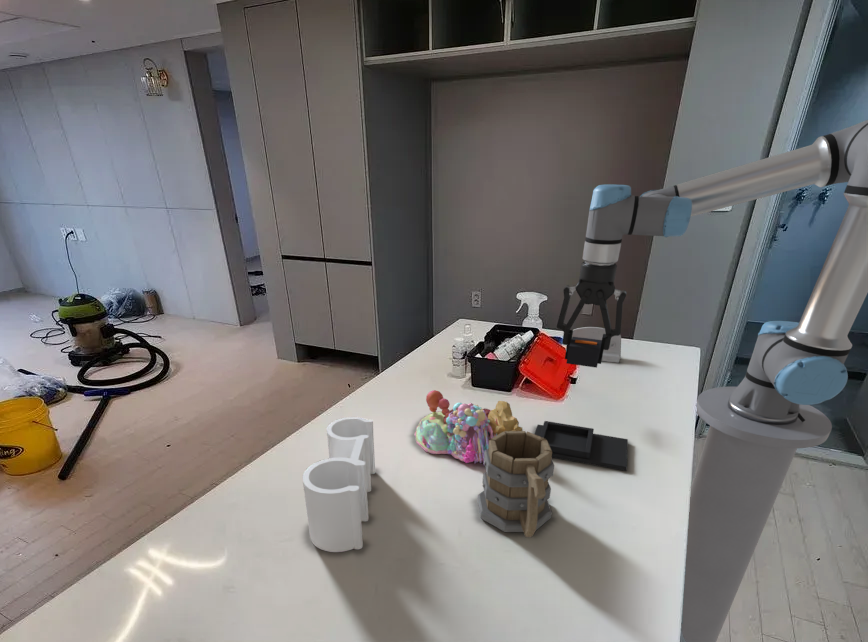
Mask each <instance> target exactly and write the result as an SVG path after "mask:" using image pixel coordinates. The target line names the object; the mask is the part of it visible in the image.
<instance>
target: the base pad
mask: <svg viewBox="0 0 868 642" xmlns="http://www.w3.org/2000/svg"><path fill="white" fill-rule="evenodd" d="M594 430H595V429H594V428H592V427H585V426H579V425H573V424H567V423H561V422H554V421H548V420H544V422H543V424H537V426H536V428H535V431H534V434H535V435H537V436H540V437H542V438H545V439H546V440H547V441H548V443H549V446H550V448H551V450H552V458H553V459H559V460H565V461H569V462H575V463H580V464H586V465H591V466H597V467H602V468H608V469H614V470H619V471H623V472H624V471H625V472H626V471H627V468H628V445H629V444H628V443H629V442H628V441H629V439H628V438H623V437H616V436H611V435H606V434H605V435H604V434H599V433H594Z"/></svg>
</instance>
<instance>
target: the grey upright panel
mask: <svg viewBox="0 0 868 642" xmlns="http://www.w3.org/2000/svg"><path fill="white" fill-rule="evenodd" d="M572 330H573V335H572V337H580V338H588V339H597V340H602V337H603V334H606V332H605V328H604V327H597V326H585V327H578V328H574V329H572ZM621 355H622V335H621V334H620V335H619V336H613V337H612V338H611V341H610V347H609V349H608V350H604V351H603V356H602V361H601V362H608V363H609V362H610V363H616V364H617V363H618V364H619V363H620V359H621V357H622V356H621Z"/></svg>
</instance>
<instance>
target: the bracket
mask: <svg viewBox="0 0 868 642" xmlns="http://www.w3.org/2000/svg"><path fill="white" fill-rule="evenodd" d="M326 436H327V439H326V440H327V448H328V458H324V459H321V460H318V461H316V462H314V463H312V464H311V465H309V466H308V467H307V468H306V469H304V471H303V474H302V485H303V486H302V487H303V493H304V502H305V509H306V517H307V524H308V531H309V540H310V542H311V543H312V544H313V545H314V546H315V547H316V548H317V549H320V550H322V551H325V552H330V553H343V552H348V551H351V550H353V549H354V550H361V549H362V548H363V547H364V543H363V528H362V522H368V521H369V506H368V504H369V503H368V493H369V492H371V491H372V477H371V475H374V474H375V473H376V461H375V460H376V459H375V457H376V456H375V437H374V436H375V435H374V420H373V419H372V418H363V417H359V416H346V417H341V418H338V419H335V420H332V421H331V422H330V423H328V425H327V426H326Z"/></svg>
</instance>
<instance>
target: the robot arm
mask: <svg viewBox="0 0 868 642" xmlns="http://www.w3.org/2000/svg"><path fill="white" fill-rule="evenodd" d="M843 183H847V184H846V187H845V189H844V191H843V196H844V198H845V199H846V201H847V203H848V205H847V208H846V211H845V213H844V216H843V218H842V220H841V223H840V225H839V227H838V230H837V232H836V235H835V237H834V239H833V242H832V244H831V246H830V249H829V251H828V253H827V255H826V258H825V260H824V263H823V265H822V268H821V270H820V273H819V276H818V277H817V279H816V281H815V284H814V287H813V289H812V291H811V294H810V297H809V299H808V301H807V304H806V306H805V308H804V310H803V313H802V315H801V317H800V319H799V322H797V321H787V320H769V321H766V322H764V323H763V324H762V326H761V328H760V330H759V332H758V333H757V337H756V342H755V344H754V348H753V351H752V353H751V357H750V359H749V363H748V366H747V369H746V373H745V375H744V377H743V379H742V380H741V381H740V383H739V384H738V385H737V386H736V387H737V388H736V389H735V390H734V392H733V393H732V394H731V396H730V397H729V400H728V404H727V405H728V407H729V409H730V410H731V411H733V412H734V413H736V414H737V415H739V416H741V417H744V418H746V419H749V420H752V421H755V422H759V423H764V424H772V425H786V424H791V423H794V422H795V421H796V420H797V418H799V419H800V420H801V421H802V422H804V421H805V419H804V418H803V417H802V416H801V414H800V413H799V411H800V406H799V404H800V405H810V406H813V405H818V404H819V405H820V404H821V403H823V402H826V401H830V400H831V399H833V398H834V397H836V396H837V395H838V394H840V393H841V392H842V391H843V390H844V388H845V387H846V385H847V383H848V379H849V376H848V375H849V374H848V369H847V367H846V366H845V362H846V361H847V358H848V356H849V354H850V351H851V350H852V347H853V343H852V342H851V340H850V338H849V337H848V335H849V333H850V331H851V329H852V326H853V325H854V323H855V320H856V318H857V316H858V314H859V312H860V310H861V308H862V306H863V304H864V301H865V300H866V298H867V295H868V119H865V120H863V121H860V122H858V123H856V124H853V125H851V126H848V127H844V128H842V129H840V130H837V131H833V132H830V133H827V134H824V135H821V136H818V137H817V138H816V139H815V140H814V141H813V143H812V144H809V145H806V146H803V147H799V148H796V149H793V150H789V151H785V152H782V153H778V154H775V155H771V156H769V157H765V158H762V159H759V160H755V161H751V162H748V163H745V164H741V165H737V166H735V167H731V168H728V169H725V170H721V171H718V172H714V173H712V174H707V175H704V176H700V177H697V178H694V179H690V180H687V181H684V182H680V183H676V184H675V185H670V186H667V187H664V188H660V189H650V190H648V191H645V192H643V193H642V194H641V195H632V187H631V186H630V185H627V184H615V183H614V184H612V183H608V184H607V183H606V184H599V185H597V186H596V187H594V188H593V190H592V196H591V201H590V206H589V209H588V210H589V211H588V216H587V217H588V218H587V225H586V232H585V240H584V245H583V252H582V257H581V258H582V260H583V261H582V262H581V265H580V272H579V277H578V282H577V283H576V285H569V284H567V285H565V286H564V288H563V291H562V292H563V301H562V304H561V309H560V312H559V316H558V318H557V319H558V320H557V323H556V329H558V330H561V331H562V332H563V334H562V335H563V336H562V341H561V343H562V345H563V346H566V347H565V350H566V352H565V354H564V360H567V356H568V349H569V345H570V343H571V340H572V335H573V330H574V329H571V328H572V327H573V325H574V323H575V322H576V320H577V319H578V317H579V315H580V313H581V311H582V309H583V308H584V306H585V305H594V306H599V309H600V311H601V312H600V314H601V318H602V323H603V328H604V329H605V332H606V334H603V337H602V342H601V349H600V354H599V360H598V365H602V362H603V361H602V356H603V351H604V350H608V349H609V347H610V341H611V338H612V337H613V336H619V335H621V332H622V320H623V306H624V301H625V299H626V298H627V291H626V290H625V289H622V290H621V289H617V288H616V287H615V280H616V273H617V269H618V264H617V262H618V261H619V257H620V252H621V248H622V247H621V246H622V242H623V236H624V235H628V236H632V235H633V236H635V235H636V236H650V237H651V236H652V237H664V238H669V237H681V236H684V234H685V233H686V232H687V230H688V227H689V224H690V220H691V217H695V216H699V215H702V214H706V213H710V212H713V211H718V210H721V209H725V208H729V207H732V206H733V207H734V206H736V205H741V204H744V203H747V202H751V201H756V200H759V199H762V198H766V197H770V196H774V195H778V194H781V193H785V192H788V191H789V192H790V191H793V190H797V189H801V188H805V187H808V186H813V185H815V186H817V187H818V188H824V187H828V186H831V185H832V186H833V185H835V184H836V185H837V184H843ZM574 292H576V293H577V295H578V296H579V298H580V300H579V301H578V303H577V305H576V306H575V309H574V310H573V312H572V314H571V316H570V318H569V319H568V321H567V323H565V319H566V315H567V311H568V308H569V304H570V300H571V297H572V296H573V295H574V294H575V293H574ZM613 295H614V299H615V301H616V309H615V325H614V328H613V327H612V325H611V324H612V323H611V319H610V313H609V308H608V302H607V300H609V298H611V297H612V296H613ZM612 328H613V329H612Z"/></svg>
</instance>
